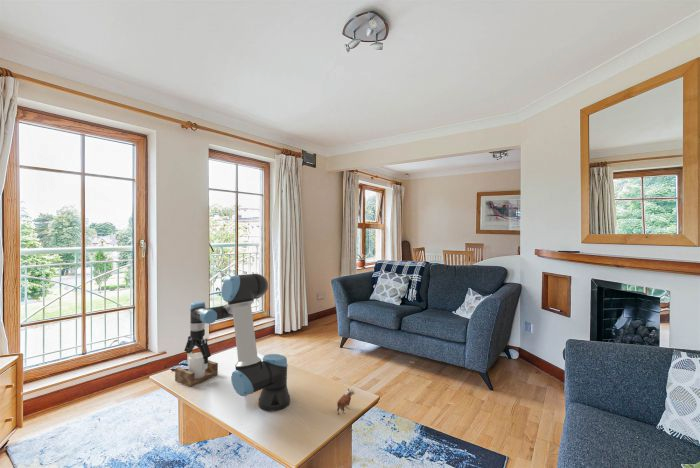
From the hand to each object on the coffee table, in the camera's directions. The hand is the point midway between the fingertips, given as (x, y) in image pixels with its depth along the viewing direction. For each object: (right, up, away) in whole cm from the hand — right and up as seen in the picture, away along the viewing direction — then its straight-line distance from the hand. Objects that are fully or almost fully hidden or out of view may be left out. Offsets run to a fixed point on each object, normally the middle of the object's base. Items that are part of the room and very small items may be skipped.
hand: (197, 366), depth 182 cm
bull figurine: (+85, -9, -29) cm, 90 cm away
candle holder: (0, -6, 0) cm, 6 cm away
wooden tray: (0, -7, 0) cm, 7 cm away
